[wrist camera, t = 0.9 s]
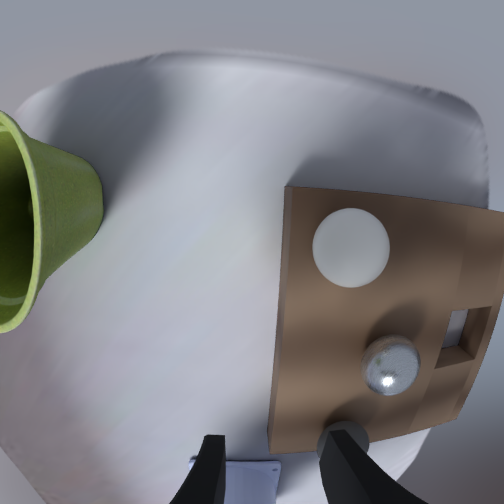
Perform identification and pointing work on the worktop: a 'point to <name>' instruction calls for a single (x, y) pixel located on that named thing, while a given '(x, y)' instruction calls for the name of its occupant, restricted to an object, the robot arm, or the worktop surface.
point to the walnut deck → (381, 316)
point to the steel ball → (390, 365)
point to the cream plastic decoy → (351, 247)
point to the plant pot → (40, 216)
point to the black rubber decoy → (352, 428)
